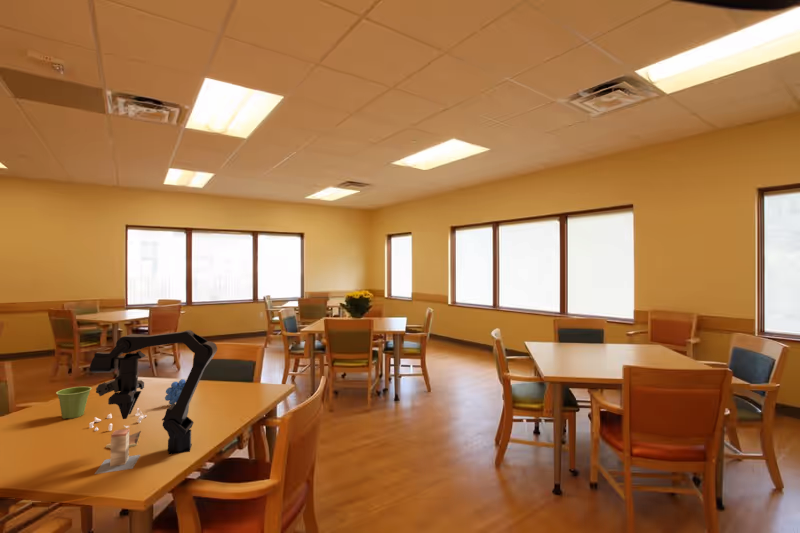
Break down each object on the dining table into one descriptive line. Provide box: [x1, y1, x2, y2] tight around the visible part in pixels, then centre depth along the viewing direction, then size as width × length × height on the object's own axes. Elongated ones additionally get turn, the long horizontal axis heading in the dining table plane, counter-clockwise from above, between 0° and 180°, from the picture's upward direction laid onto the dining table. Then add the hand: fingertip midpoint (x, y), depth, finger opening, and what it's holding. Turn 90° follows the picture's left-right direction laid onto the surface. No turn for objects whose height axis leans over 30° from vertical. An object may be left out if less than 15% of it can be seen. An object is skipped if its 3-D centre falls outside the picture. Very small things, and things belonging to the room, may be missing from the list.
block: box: [109, 428, 130, 466], centre depth 125 cm, size 4×4×10 cm
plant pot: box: [55, 386, 93, 420], centre depth 166 cm, size 12×12×11 cm
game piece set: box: [88, 407, 148, 432], centre depth 160 cm, size 19×20×4 cm
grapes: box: [164, 378, 186, 406], centre depth 183 cm, size 12×7×12 cm, turn 115°
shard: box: [105, 430, 142, 449], centre depth 141 cm, size 13×9×2 cm
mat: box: [94, 454, 141, 475], centre depth 124 cm, size 10×10×1 cm
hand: (126, 416), depth 132 cm, fingers open, 4 cm apart
